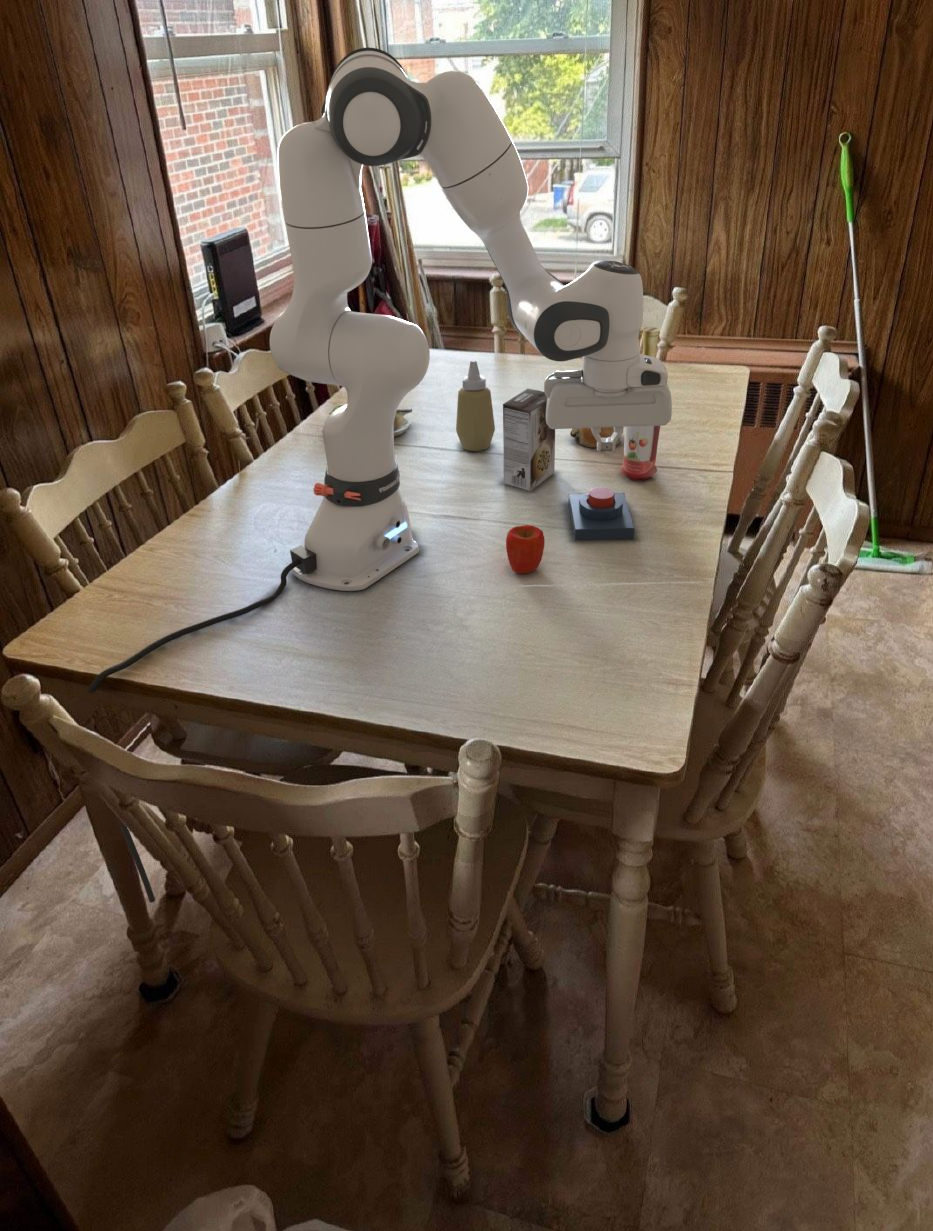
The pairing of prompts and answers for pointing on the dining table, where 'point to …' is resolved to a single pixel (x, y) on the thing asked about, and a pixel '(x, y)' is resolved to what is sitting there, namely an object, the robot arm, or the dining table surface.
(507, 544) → the apple
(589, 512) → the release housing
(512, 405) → the coffee box
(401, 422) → the salad plate
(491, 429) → the squeeze bottle
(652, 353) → the liquor
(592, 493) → the lid button
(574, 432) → the bread roll
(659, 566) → the dining table surface
